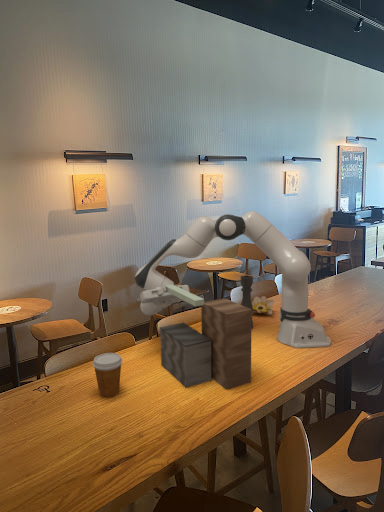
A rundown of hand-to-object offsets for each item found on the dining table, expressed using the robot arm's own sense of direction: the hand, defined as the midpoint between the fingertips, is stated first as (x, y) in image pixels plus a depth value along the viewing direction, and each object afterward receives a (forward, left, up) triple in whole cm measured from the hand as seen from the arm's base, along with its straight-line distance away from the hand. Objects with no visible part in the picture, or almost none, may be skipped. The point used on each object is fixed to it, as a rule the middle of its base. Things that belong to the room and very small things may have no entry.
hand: (171, 288), depth 147 cm
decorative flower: (-37, -57, -29) cm, 74 cm away
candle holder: (-30, -36, -29) cm, 55 cm away
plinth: (-21, +14, -28) cm, 38 cm away
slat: (-5, +8, -1) cm, 9 cm away
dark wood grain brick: (-6, +12, -28) cm, 31 cm away
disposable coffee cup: (+17, +28, -29) cm, 44 cm away
